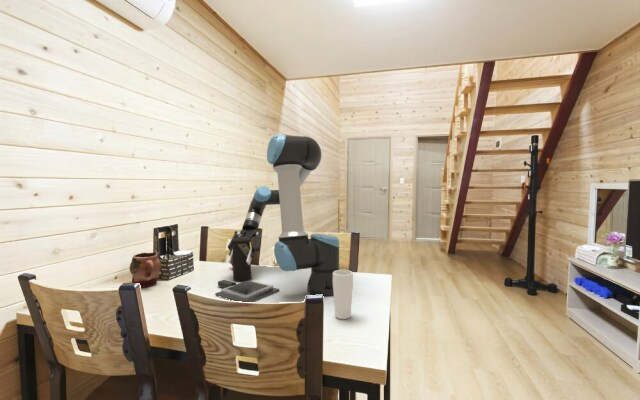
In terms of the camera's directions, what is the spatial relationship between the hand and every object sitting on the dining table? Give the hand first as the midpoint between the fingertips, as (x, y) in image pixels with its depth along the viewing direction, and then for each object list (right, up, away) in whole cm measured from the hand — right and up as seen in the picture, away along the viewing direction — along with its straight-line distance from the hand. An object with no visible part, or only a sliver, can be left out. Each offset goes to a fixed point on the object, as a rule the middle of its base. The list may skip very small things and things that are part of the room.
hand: (238, 262), depth 147 cm
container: (+1, -9, +4) cm, 9 cm away
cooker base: (+4, -9, -14) cm, 17 cm away
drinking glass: (+45, -10, -40) cm, 61 cm away
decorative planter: (-40, -9, -4) cm, 41 cm away
